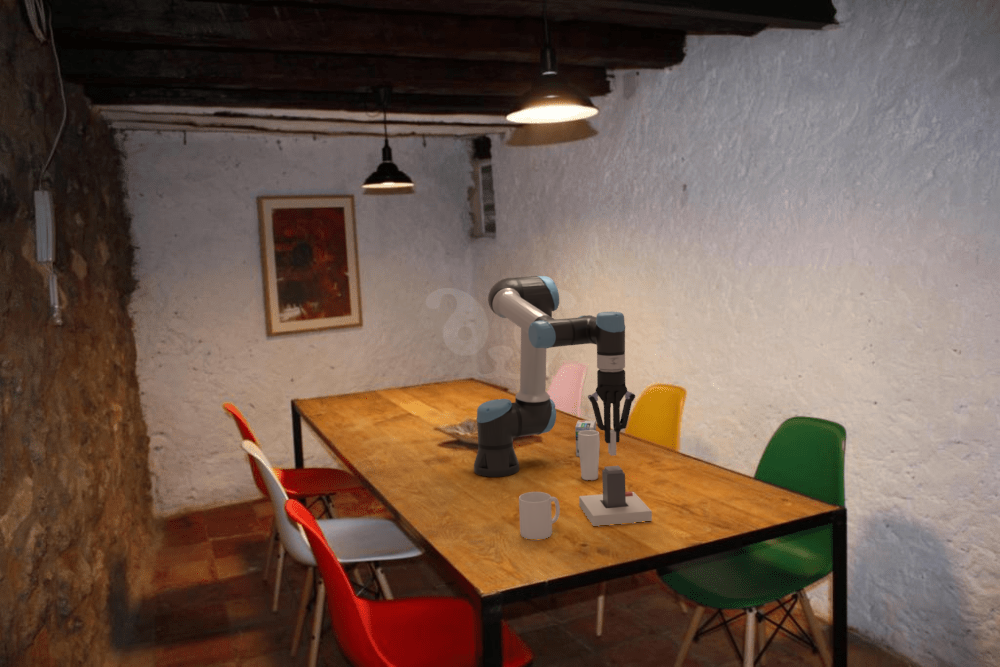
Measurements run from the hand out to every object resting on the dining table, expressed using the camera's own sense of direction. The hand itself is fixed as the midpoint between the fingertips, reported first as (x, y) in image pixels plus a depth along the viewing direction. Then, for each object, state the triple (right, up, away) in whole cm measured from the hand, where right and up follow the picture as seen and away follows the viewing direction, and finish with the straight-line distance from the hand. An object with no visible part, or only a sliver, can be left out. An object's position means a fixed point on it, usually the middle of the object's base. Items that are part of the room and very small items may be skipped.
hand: (612, 453), depth 205 cm
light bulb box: (0, -10, +63) cm, 63 cm away
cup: (-20, -19, -10) cm, 29 cm away
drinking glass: (-2, -13, +33) cm, 36 cm away
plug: (+1, -17, +2) cm, 17 cm away
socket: (+1, -17, +2) cm, 17 cm away
